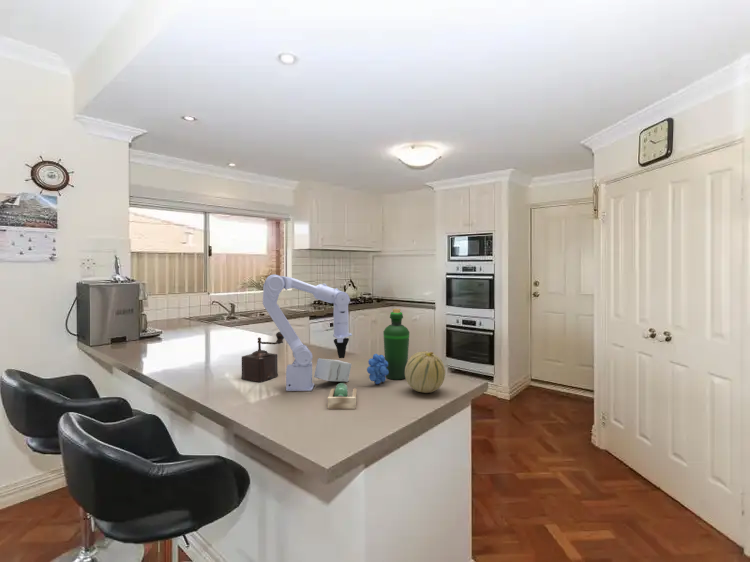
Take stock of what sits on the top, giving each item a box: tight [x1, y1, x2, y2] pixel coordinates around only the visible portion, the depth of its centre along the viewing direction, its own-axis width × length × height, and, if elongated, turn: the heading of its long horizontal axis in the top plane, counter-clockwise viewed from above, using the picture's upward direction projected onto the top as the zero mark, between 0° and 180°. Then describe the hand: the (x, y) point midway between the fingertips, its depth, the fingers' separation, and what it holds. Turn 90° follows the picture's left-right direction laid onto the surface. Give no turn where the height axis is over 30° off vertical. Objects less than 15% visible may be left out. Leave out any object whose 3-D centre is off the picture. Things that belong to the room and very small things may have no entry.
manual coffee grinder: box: [241, 331, 285, 384], centre depth 167 cm, size 16×11×18 cm
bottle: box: [383, 308, 410, 381], centre depth 166 cm, size 11×11×28 cm
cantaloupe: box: [404, 350, 446, 394], centre depth 147 cm, size 15×15×15 cm
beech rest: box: [327, 388, 358, 410], centre depth 136 cm, size 9×13×4 cm
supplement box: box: [313, 357, 352, 383], centre depth 157 cm, size 7×7×13 cm
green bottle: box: [334, 382, 349, 397], centre depth 138 cm, size 4×4×11 cm
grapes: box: [366, 353, 389, 385], centre depth 156 cm, size 12×7×12 cm, turn 138°
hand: (341, 357), depth 155 cm, fingers closed
